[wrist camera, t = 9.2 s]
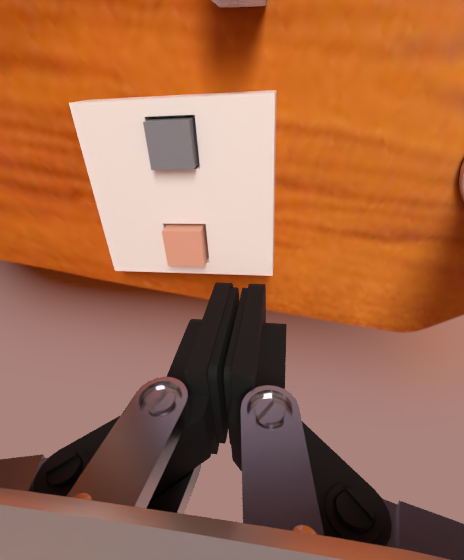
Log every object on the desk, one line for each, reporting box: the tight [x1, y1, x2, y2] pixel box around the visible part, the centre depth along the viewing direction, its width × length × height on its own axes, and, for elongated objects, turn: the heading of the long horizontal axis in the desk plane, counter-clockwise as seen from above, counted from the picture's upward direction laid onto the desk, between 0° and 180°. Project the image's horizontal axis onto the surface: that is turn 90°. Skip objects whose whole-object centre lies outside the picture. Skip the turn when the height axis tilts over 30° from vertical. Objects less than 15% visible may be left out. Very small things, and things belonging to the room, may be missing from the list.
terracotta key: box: [162, 224, 209, 267], centre depth 39 cm, size 4×4×3 cm
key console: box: [69, 90, 277, 276], centre depth 38 cm, size 20×19×4 cm
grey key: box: [143, 116, 199, 170], centre depth 33 cm, size 4×4×3 cm
